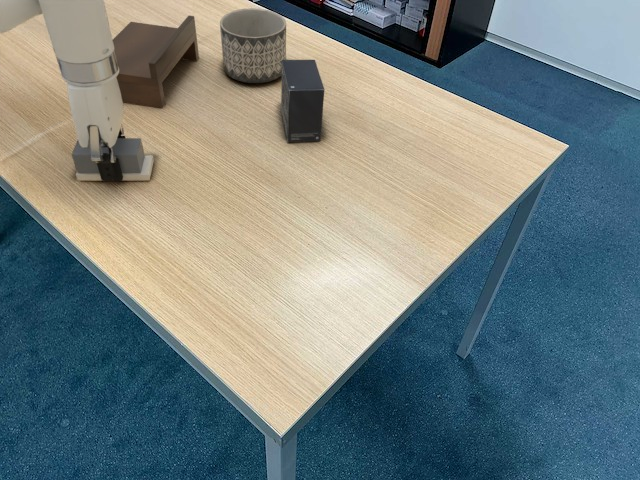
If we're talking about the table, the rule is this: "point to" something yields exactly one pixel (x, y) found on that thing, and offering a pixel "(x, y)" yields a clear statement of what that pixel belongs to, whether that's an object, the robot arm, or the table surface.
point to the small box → (301, 100)
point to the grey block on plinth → (125, 150)
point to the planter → (253, 44)
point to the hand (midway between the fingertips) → (115, 166)
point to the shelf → (151, 58)
